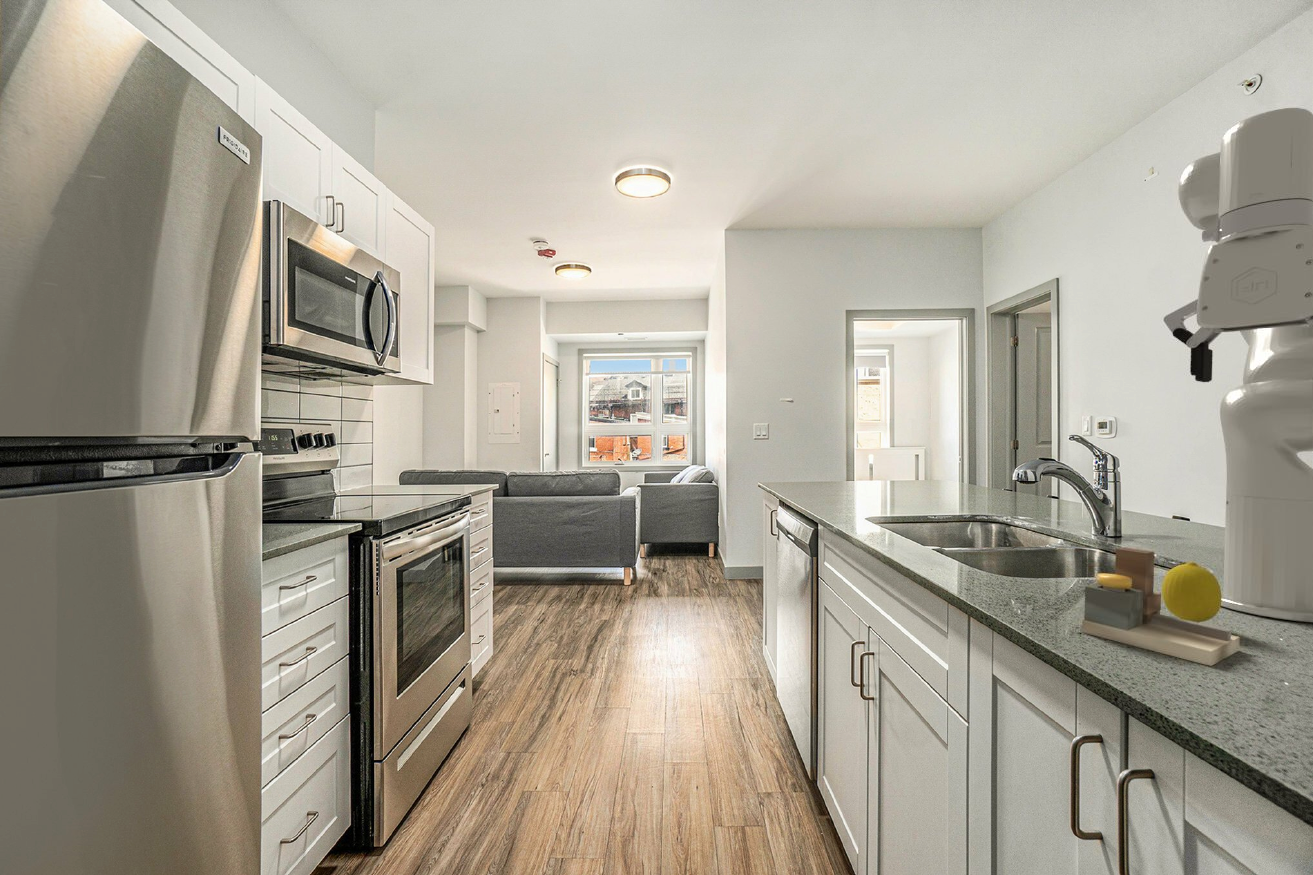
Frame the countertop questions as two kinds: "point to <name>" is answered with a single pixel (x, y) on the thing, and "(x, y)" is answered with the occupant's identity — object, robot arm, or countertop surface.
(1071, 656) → the countertop surface
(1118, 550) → the block
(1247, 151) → the robot arm
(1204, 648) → the rail base
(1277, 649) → the countertop surface
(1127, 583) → the button
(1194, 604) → the lemon
